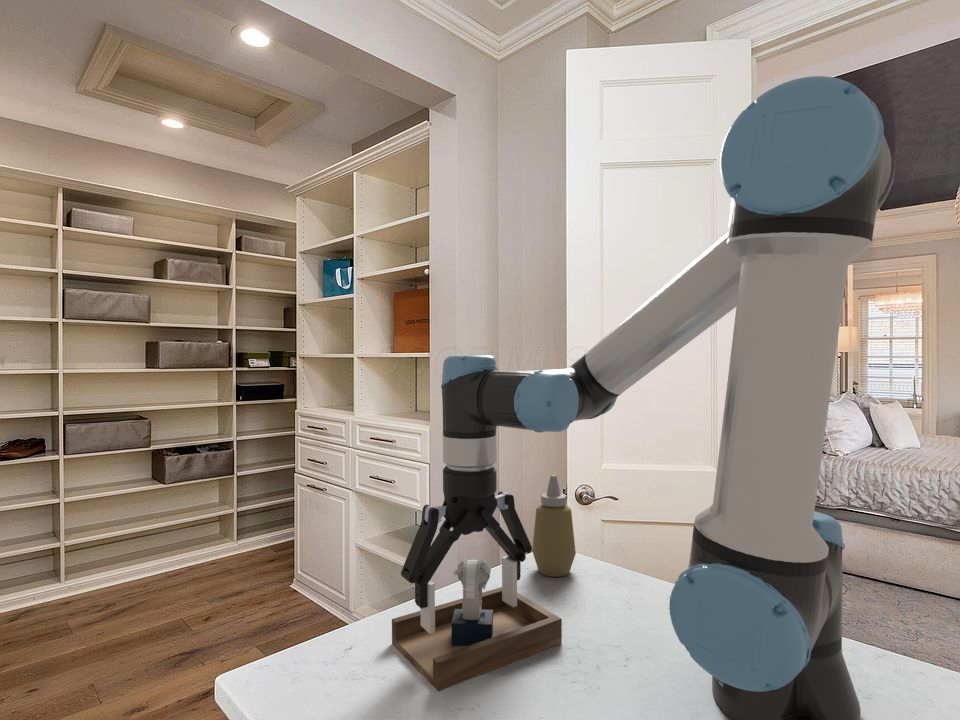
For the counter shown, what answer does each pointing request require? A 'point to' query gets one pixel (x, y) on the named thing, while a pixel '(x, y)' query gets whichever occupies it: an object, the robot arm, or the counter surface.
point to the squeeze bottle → (553, 533)
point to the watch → (472, 604)
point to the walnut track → (451, 665)
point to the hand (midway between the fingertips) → (470, 615)
